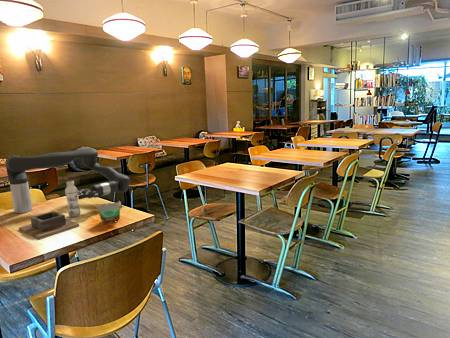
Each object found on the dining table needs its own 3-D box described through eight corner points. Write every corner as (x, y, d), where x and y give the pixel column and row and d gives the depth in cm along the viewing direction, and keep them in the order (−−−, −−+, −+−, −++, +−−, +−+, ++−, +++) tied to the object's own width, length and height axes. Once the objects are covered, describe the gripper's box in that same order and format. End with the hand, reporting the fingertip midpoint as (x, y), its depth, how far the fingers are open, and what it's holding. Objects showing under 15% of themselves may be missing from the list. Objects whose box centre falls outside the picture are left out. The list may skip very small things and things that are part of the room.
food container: (100, 225, 175) (98, 207, 173) (98, 222, 181) (96, 204, 179) (124, 221, 181) (122, 203, 179) (122, 217, 186) (120, 200, 184)
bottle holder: (18, 229, 174) (17, 218, 173) (57, 218, 189) (56, 207, 188) (39, 239, 161) (37, 226, 159) (79, 225, 176) (77, 214, 175)
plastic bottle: (76, 218, 188) (71, 182, 184) (65, 217, 189) (60, 182, 185) (83, 214, 194) (79, 179, 190) (72, 213, 195) (68, 179, 191)
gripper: (93, 182, 206) (66, 188, 194) (106, 185, 198) (80, 191, 185) (94, 194, 208) (68, 201, 196) (108, 197, 199) (82, 205, 187)
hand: (74, 196), depth 190 cm, fingers open, 8 cm apart
